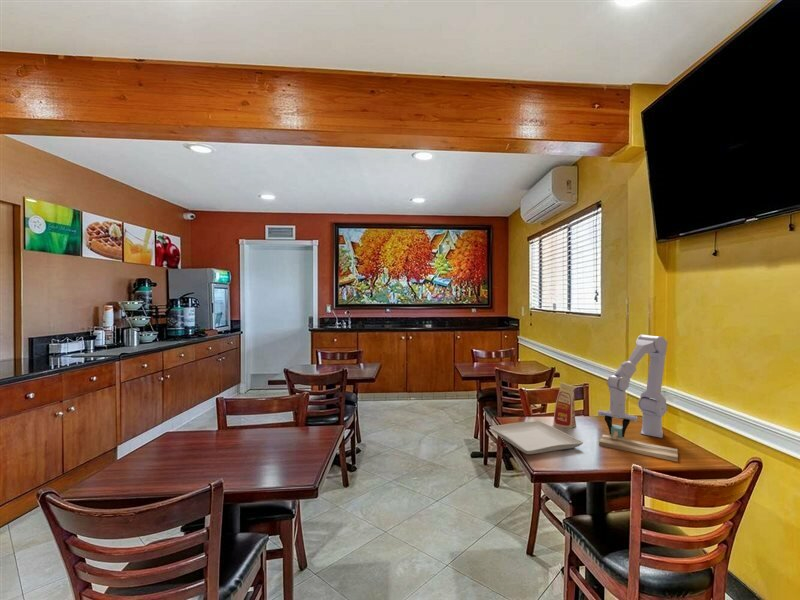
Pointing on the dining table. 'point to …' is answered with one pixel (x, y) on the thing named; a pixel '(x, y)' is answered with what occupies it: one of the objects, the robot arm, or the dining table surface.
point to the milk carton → (565, 407)
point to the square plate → (535, 437)
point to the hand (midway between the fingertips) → (617, 435)
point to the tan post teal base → (616, 431)
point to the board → (639, 447)
